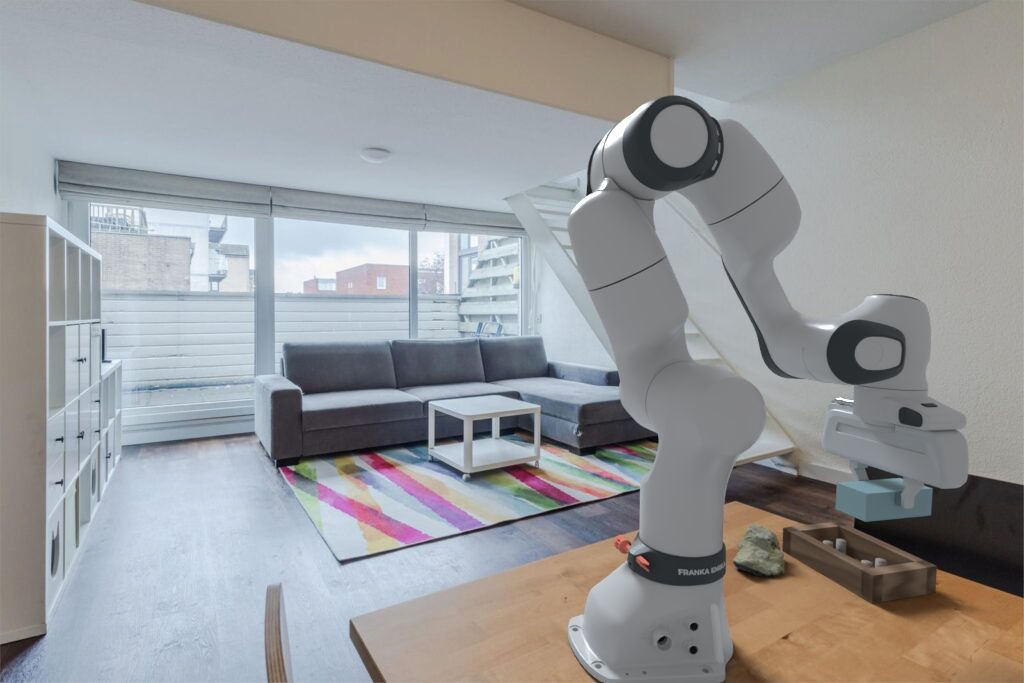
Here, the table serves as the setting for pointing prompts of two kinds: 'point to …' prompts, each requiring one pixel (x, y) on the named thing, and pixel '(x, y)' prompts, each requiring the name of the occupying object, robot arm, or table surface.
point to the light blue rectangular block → (880, 500)
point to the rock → (760, 552)
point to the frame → (884, 582)
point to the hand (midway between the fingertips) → (883, 499)
